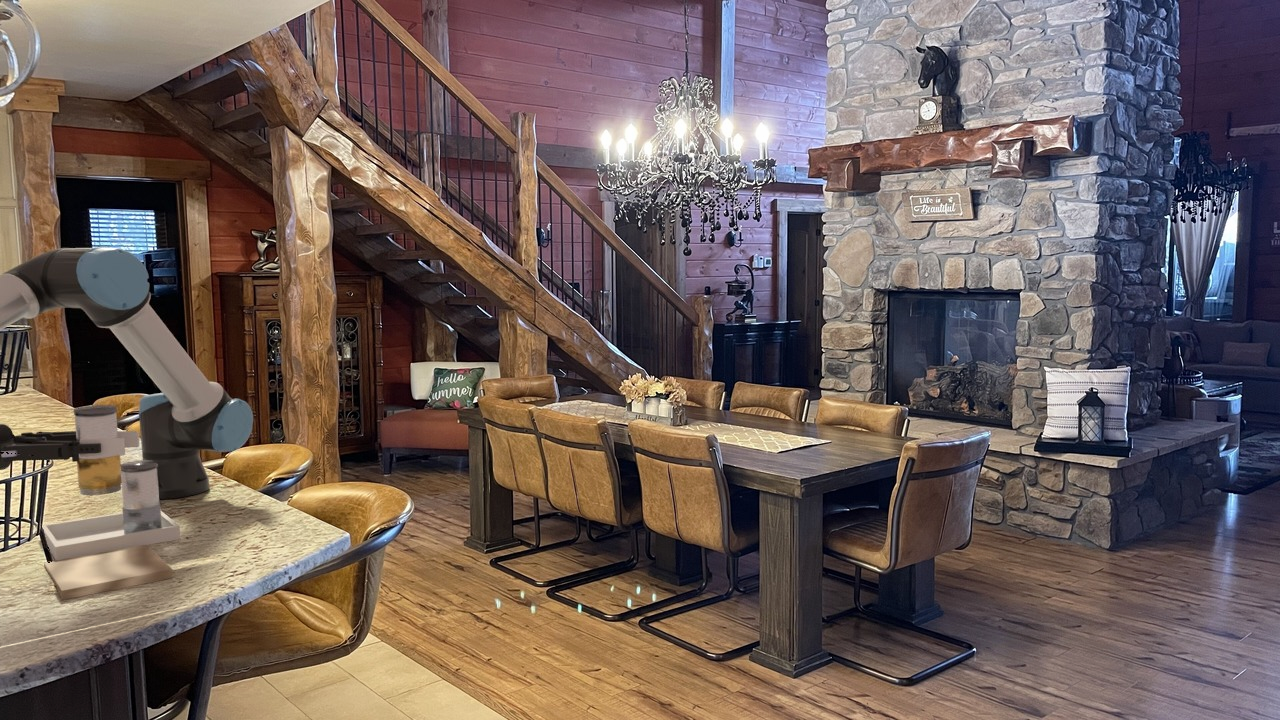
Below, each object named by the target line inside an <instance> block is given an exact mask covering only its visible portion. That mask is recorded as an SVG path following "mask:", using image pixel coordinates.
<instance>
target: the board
mask: <svg viewBox="0 0 1280 720" xmlns="http://www.w3.org/2000/svg"><path fill="white" fill-rule="evenodd" d="M48 562H50V563H48ZM48 562H44V563H43V566H44V568H45V569H46V571H47V572H48V574H49V576H50V577H51V579H52V580H53V582H54V584H55V585H53V587H54V588H55V590H56V592H57V594H58V595H59V597H60V598H61V600H62V601H64V600H70V599H74V598H79V597H85V596H90V595H94V594H95V595H96V594H98V593H99V594H100V593H105V592H109V591H115V590H119V589H124V588H129V587H134V586H139V585H145V584H149V583H154V582H155V583H156V582H159V581H163V580H164V581H166V580H168V579H169V580H170V579H173V578H174V575H173V574H174V573H173V568H172V567H171V566H170V565H169V564H167V563H166V561H165V560H164V559H163V558H162V557H160V556H159V554H158V553H156V552H155V550H153V548H151V547H150V545H141V546H136V547H130V548H125V549H119V550H113V551H108V552H102V553H96V554H91V555H85V556H79V557H74V558H68V559H63V560H57V561H56V560H52V562H51V561H48Z"/></svg>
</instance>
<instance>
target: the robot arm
mask: <svg viewBox="0 0 1280 720" xmlns="http://www.w3.org/2000/svg"><path fill="white" fill-rule="evenodd" d="M149 278H150V277H149V273H148V270H147V269H146V267H145V265H144V264H143V262H142V261H141V260H140V259H139V257H137V255H135V254H133V253H132V252H130V251H128V250H125V249H122V248H118V247H117V248H116V247H115V248H114V247H110V246H98V247H75V248H73V247H71V248H70V247H62V248H56V249H51V250H49V251H46V252H43V253H40V254H38V255H37V256H36V255H35V256H34V257H32V258H30V259H28V260H26V261H24V262H22V263H20V264H18V265H16V266H15V267H13V268H11V269H9V270H7V271H5V272H4V273H1V274H0V331H3V330H4V329H6V328H7V327H9V326H11V325H12V324H14V323H16V322H18V321H19V320H21V319H23V318H24V319H28V320H29V319H30V320H31V319H33V318H36V317H38V316H39V315H41V314H43V313H45V312H48V311H51V310H57V309H63V308H64V309H65V308H68V309H69V308H71V309H81V310H82V311H83V312H85V314H86V315H87V316H88V317H89V319H90V320H91V321H92V322H93V324H95V326H96V327H98V328H101V329H102V328H103V329H104V328H105V329H109V330H110V331H111V332H112V333H113V334H114V336H115V337H116V338H117V339H118V341H119V342H120V343H121V344H122V345H123V347H124V348H125V349H126V350H127V351H128V353H129V354H130V355H131V356H132V357H133V359H134V360H135V361H136V363H138V365H139V366H140V367H141V368H142V370H143V371H144V372H145V373H146V374H147V375H148V377H149V378H150V379H151V381H153V383H154V384H155V385H156V386H157V388H158V389H159V390H160V391H161V392H160V393H153V394H147V395H144V396H143V397H141V398H140V400H139V404H138V405H139V406H138V407H139V410H138V411H139V412H138V419H139V430H124V431H123V430H122V431H120V430H119V431H118V430H117V431H118V438H107V439H81V440H80V444H78V441H76V430H71V431H41V430H40V431H37V432H32V431H30V432H21V433H20V434H19V435H15V434H14V433H13V430H12V429H11V428H10V426H9V425H7V424H4V423H0V452H4V453H3V454H0V471H4V470H6V469H8V468H9V467H10V466H11V464H12V463H11V461H12V462H18V461H19V462H21V461H25V462H26V461H28V462H29V461H56V460H57V461H60V460H63V461H67V460H70V459H71V461H72V463H75V462H76V463H77V461H79V454H81V457H84V456H112V455H120V456H125V455H126V448H127V449H129V448H140V442H141V454H142V457H141V458H142V460H154V461H157V464H158V467H157V474H158V490H159V500H168V499H179V498H184V497H185V498H186V497H189V496H194V495H198V494H201V493H205V492H206V491H208V490H209V489H210V479H209V476H208V473H207V471H206V469H205V466H204V464H203V462H202V459H201V457H200V450H201V451H210V452H217V453H223V452H234V451H237V450H239V449H240V448H241V447H243V446H244V445H245V444H246V442H247V441H248V439H249V438H250V436H251V433H252V430H253V423H254V414H253V413H254V412H253V410H252V408H251V406H250V405H249V404H248V403H247V401H245V400H243V399H241V398H232V397H230V395H229V394H228V393H227V391H226V390H225V388H224V387H223V386H222V385H221V384H220V383H218V382H215V381H209V379H208V378H207V377H206V376H205V375H204V373H203V372H202V371H201V370H200V369H199V367H198V366H197V365H196V363H195V362H194V361H193V360H192V358H191V356H189V354H188V353H187V352H186V350H185V349H184V348H183V347H182V345H181V344H180V342H179V341H178V340H177V338H176V337H175V336H174V334H173V333H172V332H171V331H170V330H169V328H168V327H167V325H166V324H165V323H164V322H163V320H162V319H161V318H160V316H159V315H158V314H157V313H156V311H155V310H154V309H153V308H152V306H151V305H150V300H151V296H152V295H151V292H150V283H149V282H148V279H149ZM6 452H8V453H9V454H7V453H6ZM11 453H12V454H11ZM15 453H16V454H15ZM18 453H19V454H20V455H18ZM29 455H30V456H29ZM31 455H35V456H31ZM41 457H43V458H41Z"/></svg>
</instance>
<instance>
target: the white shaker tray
mask: <svg viewBox="0 0 1280 720" xmlns="http://www.w3.org/2000/svg"><path fill="white" fill-rule="evenodd" d="M161 523H162V528H158V529H152V530H146V531H140V532H134V533H128V534H124V523H123V512H119V513H118V512H117V513H111V514H104V515H99V516H93V517H85V518H81V519H80V518H79V519H73V520H66V521H58V522H55V523H54V522H53V523H47V524H42V525H43V529H44V532H45V537H46V540H47V543H48V547H49V549H50V551H49V552H50V554H51V555H52V556H53V559H54V561H57V560H63V559H68V558H74V557H79V556H85V555H91V554H96V553H102V552H108V551H113V550H119V549H125V548H130V547H136V546H141V545H148V546H150V545H151V546H152V545H156V544H162V543H167V542H172V541H178V540H181V527H180V525H179V524H178V523H177V522H176V521H174V520H173V519H172V518H170V516H168V515H167V514H166V513H164V511H162V510H161ZM49 549H48V550H49Z"/></svg>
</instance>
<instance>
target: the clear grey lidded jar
mask: <svg viewBox="0 0 1280 720" xmlns="http://www.w3.org/2000/svg"><path fill="white" fill-rule="evenodd" d="M157 467H158V464H157V461H154V460H143V459H142V460H141V459H139V460H133V461H127V462H123V463H121V477H122V484H121V491H122V492H121V493H122V513H123V523H124V534H128V533H134V532H140V531H146V530H152V529H158V528H162V523H161V511H162V509H161V507H162V506H161V502H160V499H159V490H158V474H157Z"/></svg>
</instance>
